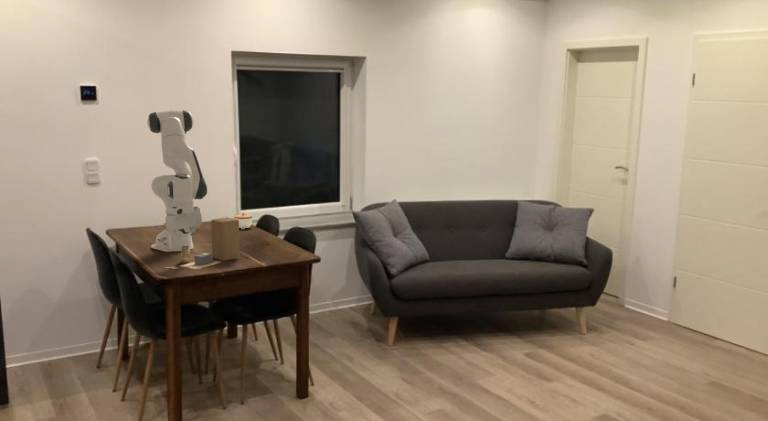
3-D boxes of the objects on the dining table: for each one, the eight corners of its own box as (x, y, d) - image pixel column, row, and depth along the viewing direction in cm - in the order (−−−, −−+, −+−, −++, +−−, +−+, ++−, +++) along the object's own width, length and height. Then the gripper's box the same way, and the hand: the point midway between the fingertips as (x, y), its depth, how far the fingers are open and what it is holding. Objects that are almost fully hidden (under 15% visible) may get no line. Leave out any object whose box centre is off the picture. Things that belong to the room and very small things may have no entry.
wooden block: (228, 255, 336) (227, 216, 333) (240, 259, 330) (239, 219, 327) (211, 259, 329) (210, 219, 326) (223, 262, 322) (222, 222, 319)
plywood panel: (178, 267, 311) (178, 265, 311) (203, 260, 325) (203, 258, 325) (198, 271, 306) (198, 269, 306) (222, 264, 320) (222, 261, 320)
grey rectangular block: (194, 263, 315) (194, 255, 314) (205, 260, 321) (204, 252, 320) (202, 265, 313) (202, 256, 312) (213, 262, 319) (212, 253, 318)
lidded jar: (252, 229, 403) (252, 214, 402) (234, 230, 401) (234, 214, 399) (252, 226, 414) (251, 211, 412) (234, 226, 411) (234, 211, 410)
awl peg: (179, 264, 318) (178, 245, 317) (185, 262, 322) (185, 244, 320) (185, 265, 317) (185, 246, 315) (191, 263, 320) (191, 245, 319)
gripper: (194, 205, 325) (195, 233, 327) (162, 210, 307) (164, 240, 309) (204, 206, 322) (205, 234, 324) (172, 211, 304) (174, 241, 306)
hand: (185, 237), depth 317 cm, fingers open, 8 cm apart
